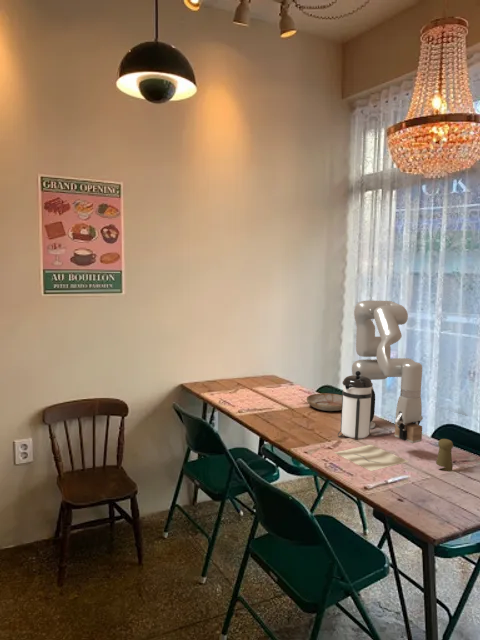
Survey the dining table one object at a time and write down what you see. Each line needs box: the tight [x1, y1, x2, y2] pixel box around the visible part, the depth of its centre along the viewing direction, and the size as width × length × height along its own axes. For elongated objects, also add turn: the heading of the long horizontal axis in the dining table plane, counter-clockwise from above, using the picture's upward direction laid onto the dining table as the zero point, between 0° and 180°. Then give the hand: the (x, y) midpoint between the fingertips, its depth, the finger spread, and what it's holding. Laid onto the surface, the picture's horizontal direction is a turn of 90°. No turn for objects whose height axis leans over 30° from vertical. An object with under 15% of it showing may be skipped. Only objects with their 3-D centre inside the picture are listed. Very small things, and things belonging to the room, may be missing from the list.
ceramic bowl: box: [306, 392, 342, 412], centre depth 265 cm, size 23×24×5 cm
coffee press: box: [337, 371, 376, 441], centre depth 219 cm, size 17×16×30 cm
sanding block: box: [394, 423, 423, 444], centre depth 197 cm, size 9×5×6 cm, turn 30°
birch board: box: [334, 444, 410, 472], centre depth 194 cm, size 20×20×2 cm
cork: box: [435, 438, 454, 472], centre depth 188 cm, size 6×6×11 cm
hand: (407, 438), depth 197 cm, fingers closed on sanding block, 5 cm apart
